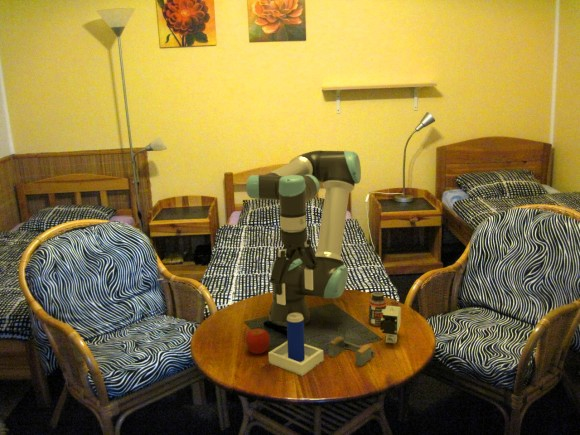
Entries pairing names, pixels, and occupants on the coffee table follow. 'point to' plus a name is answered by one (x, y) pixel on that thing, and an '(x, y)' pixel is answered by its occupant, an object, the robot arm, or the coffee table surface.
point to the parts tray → (281, 360)
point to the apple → (257, 340)
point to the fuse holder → (362, 352)
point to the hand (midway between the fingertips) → (295, 296)
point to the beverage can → (295, 337)
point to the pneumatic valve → (391, 322)
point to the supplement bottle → (376, 308)
